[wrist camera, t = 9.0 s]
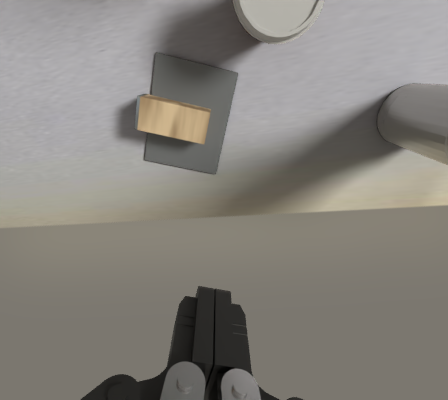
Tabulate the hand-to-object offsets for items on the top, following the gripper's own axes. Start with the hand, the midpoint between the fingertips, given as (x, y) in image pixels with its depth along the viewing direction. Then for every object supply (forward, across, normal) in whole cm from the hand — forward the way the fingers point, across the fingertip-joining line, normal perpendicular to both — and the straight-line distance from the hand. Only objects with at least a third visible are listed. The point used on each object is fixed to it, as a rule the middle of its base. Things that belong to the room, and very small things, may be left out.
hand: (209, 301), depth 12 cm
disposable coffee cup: (+34, -2, -18) cm, 39 cm away
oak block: (+32, +12, -2) cm, 34 cm away
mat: (+34, +5, -2) cm, 35 cm away
